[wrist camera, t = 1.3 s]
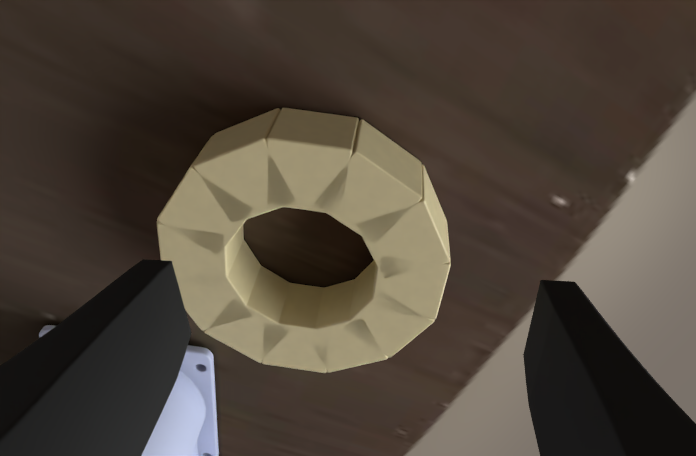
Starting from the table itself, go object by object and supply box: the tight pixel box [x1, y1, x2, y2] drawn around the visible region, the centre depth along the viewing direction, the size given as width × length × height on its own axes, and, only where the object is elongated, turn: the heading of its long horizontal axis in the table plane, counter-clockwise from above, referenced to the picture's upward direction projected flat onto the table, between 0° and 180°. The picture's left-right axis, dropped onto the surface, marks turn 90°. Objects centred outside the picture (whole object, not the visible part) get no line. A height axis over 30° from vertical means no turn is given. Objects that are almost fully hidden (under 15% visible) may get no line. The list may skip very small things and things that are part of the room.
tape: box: [157, 108, 451, 373], centre depth 20 cm, size 10×10×2 cm
